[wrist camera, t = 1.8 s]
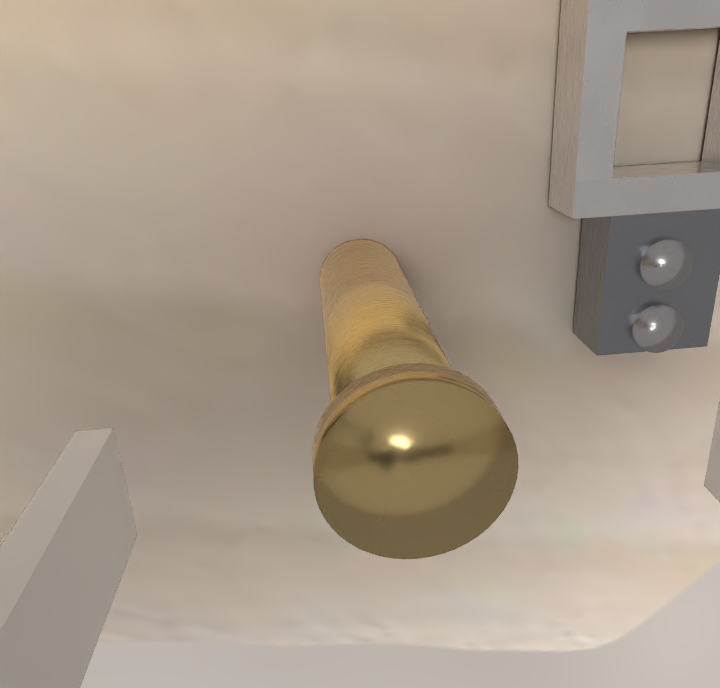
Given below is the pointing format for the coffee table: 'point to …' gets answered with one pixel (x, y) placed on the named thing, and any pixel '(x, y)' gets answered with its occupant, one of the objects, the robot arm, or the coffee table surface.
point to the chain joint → (633, 189)
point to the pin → (401, 420)
